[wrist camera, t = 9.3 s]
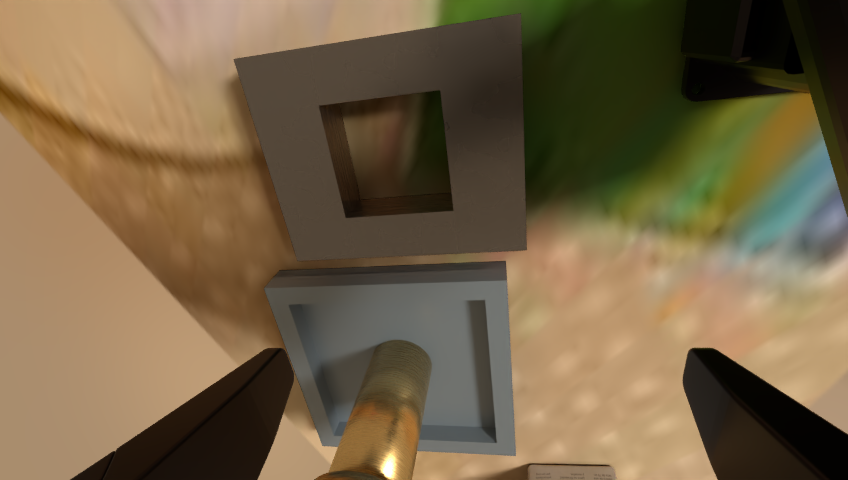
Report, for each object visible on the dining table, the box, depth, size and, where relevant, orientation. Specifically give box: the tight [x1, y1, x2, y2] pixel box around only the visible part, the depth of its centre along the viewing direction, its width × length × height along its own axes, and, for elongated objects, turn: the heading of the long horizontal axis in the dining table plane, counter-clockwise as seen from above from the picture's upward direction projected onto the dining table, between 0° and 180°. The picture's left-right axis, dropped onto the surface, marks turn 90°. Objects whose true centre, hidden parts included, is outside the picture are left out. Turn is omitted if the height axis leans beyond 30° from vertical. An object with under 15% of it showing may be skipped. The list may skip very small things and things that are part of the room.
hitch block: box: [234, 13, 527, 261], centre depth 19 cm, size 12×10×2 cm
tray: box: [264, 261, 516, 456], centre depth 26 cm, size 14×14×2 cm
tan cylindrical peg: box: [314, 340, 432, 480], centre depth 22 cm, size 5×5×10 cm
